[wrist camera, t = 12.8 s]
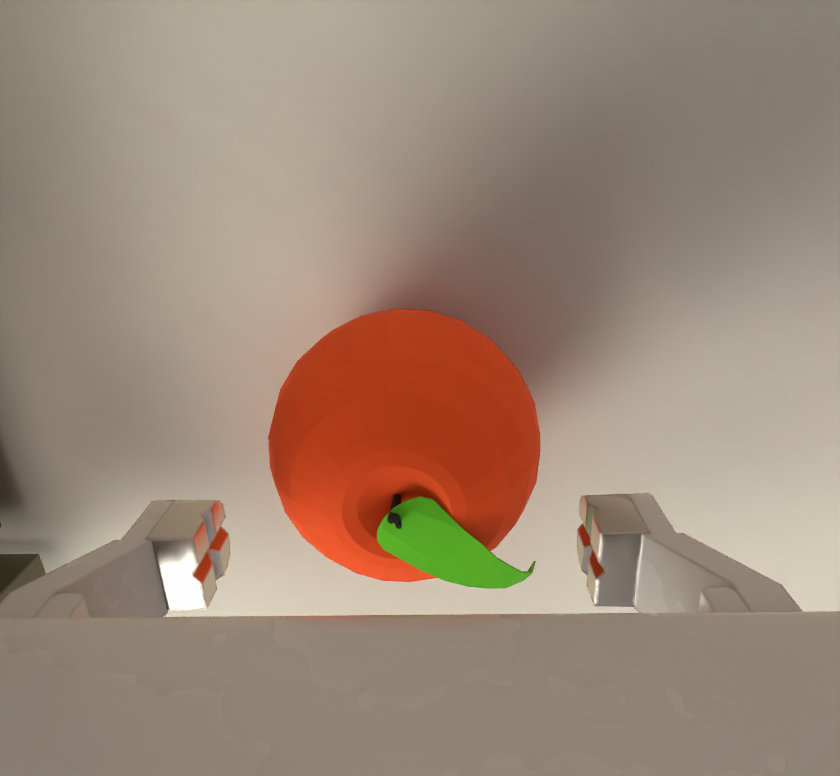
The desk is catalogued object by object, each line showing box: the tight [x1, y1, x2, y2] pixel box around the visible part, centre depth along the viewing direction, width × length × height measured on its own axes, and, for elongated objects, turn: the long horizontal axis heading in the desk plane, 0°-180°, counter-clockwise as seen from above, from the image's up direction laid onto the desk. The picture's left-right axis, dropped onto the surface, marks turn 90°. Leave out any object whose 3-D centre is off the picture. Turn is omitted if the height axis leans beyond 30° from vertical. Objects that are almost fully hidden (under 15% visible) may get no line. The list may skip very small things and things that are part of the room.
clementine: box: [268, 309, 540, 588], centre depth 16 cm, size 8×7×7 cm
